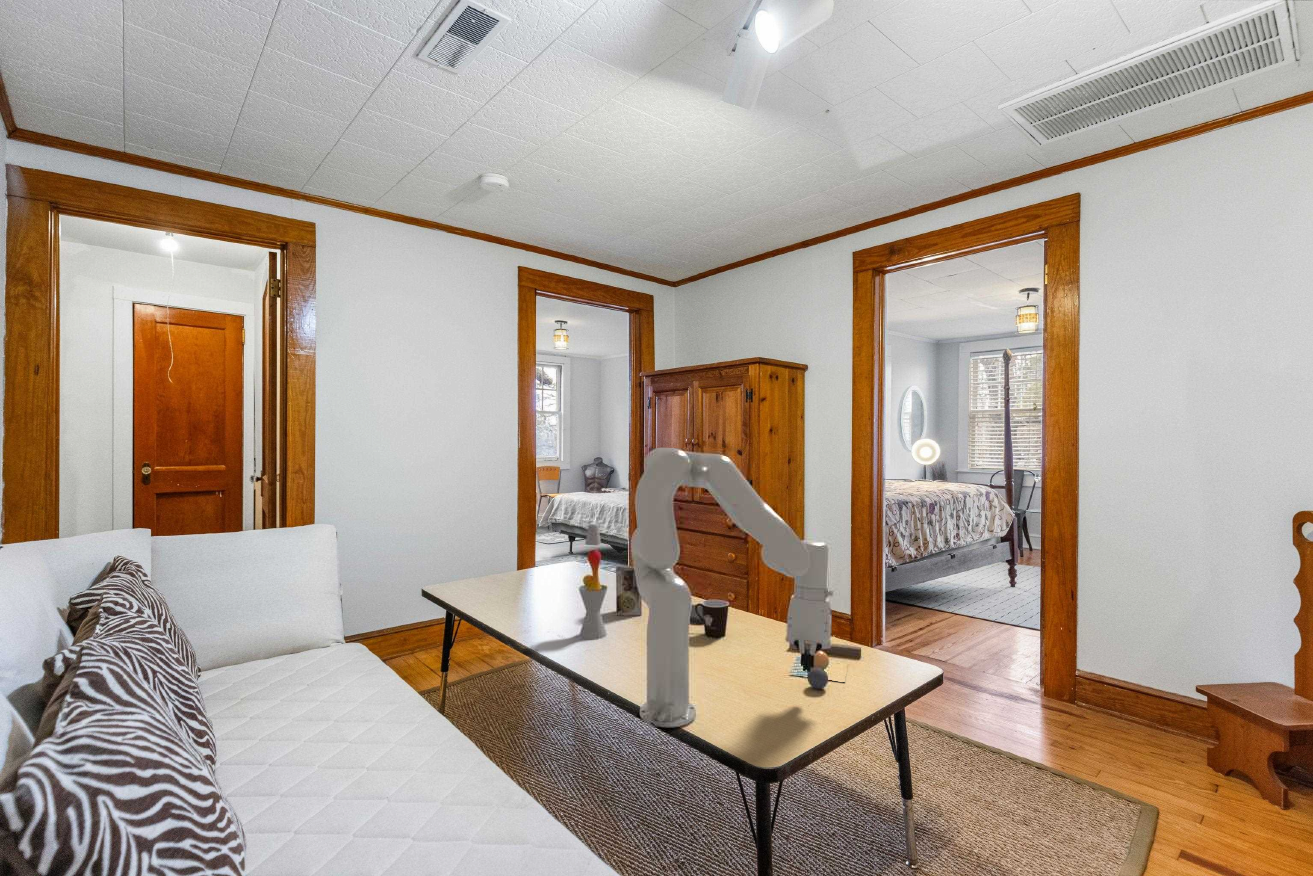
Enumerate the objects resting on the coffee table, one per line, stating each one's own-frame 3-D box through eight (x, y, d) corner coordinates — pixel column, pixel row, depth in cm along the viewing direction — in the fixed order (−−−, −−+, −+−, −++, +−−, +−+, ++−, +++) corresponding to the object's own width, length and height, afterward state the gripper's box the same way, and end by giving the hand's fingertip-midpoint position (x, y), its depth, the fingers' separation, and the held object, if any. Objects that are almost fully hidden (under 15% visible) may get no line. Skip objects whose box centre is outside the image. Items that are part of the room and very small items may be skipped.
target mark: (844, 683, 155) (844, 682, 155) (789, 675, 160) (789, 674, 160) (848, 664, 168) (848, 663, 168) (796, 657, 173) (796, 656, 173)
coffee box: (641, 610, 220) (641, 565, 220) (641, 615, 214) (641, 569, 214) (616, 610, 220) (616, 565, 220) (615, 615, 214) (615, 569, 214)
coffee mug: (733, 637, 191) (733, 605, 191) (709, 640, 188) (709, 608, 188) (716, 626, 202) (716, 596, 201) (692, 629, 198) (692, 598, 198)
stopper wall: (860, 658, 173) (860, 649, 173) (789, 649, 180) (789, 640, 180) (861, 655, 175) (861, 647, 175) (790, 647, 182) (790, 638, 182)
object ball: (829, 649, 166) (829, 667, 166) (810, 647, 168) (810, 665, 167) (828, 655, 161) (828, 674, 161) (808, 652, 163) (808, 671, 163)
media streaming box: (670, 617, 214) (670, 608, 214) (700, 609, 223) (700, 601, 223) (699, 627, 202) (699, 618, 202) (730, 618, 212) (730, 610, 212)
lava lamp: (609, 630, 197) (609, 522, 197) (604, 640, 188) (604, 526, 188) (582, 630, 198) (582, 522, 198) (575, 639, 189) (575, 526, 189)
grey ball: (831, 669, 153) (827, 689, 153) (811, 663, 156) (807, 683, 155) (827, 672, 149) (824, 693, 148) (807, 666, 151) (803, 686, 151)
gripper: (843, 593, 147) (840, 669, 147) (781, 585, 153) (778, 659, 152) (841, 600, 140) (838, 680, 140) (776, 592, 146) (773, 669, 145)
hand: (807, 669), depth 146 cm, fingers closed
